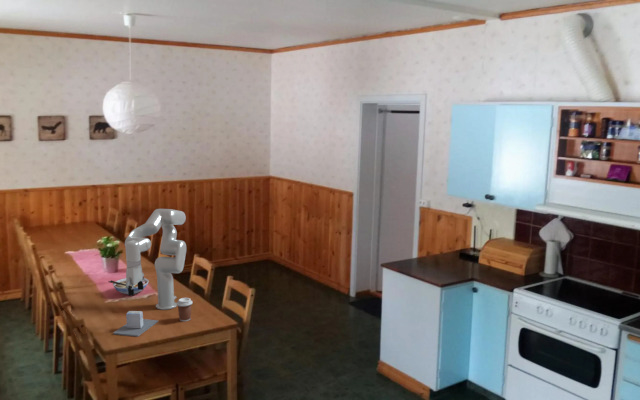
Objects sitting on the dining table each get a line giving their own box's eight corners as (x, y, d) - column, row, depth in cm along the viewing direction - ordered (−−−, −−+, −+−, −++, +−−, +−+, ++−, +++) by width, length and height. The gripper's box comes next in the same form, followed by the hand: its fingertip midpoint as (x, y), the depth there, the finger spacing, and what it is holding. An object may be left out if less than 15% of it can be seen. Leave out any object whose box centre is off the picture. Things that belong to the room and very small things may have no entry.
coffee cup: (176, 317, 334) (175, 298, 332) (192, 315, 337) (191, 296, 335) (178, 323, 325) (177, 303, 323) (194, 321, 329) (193, 301, 327)
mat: (134, 319, 331) (134, 318, 331) (158, 321, 327) (158, 320, 327) (113, 334, 310) (113, 332, 310) (137, 336, 306) (137, 335, 306)
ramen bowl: (157, 291, 380) (157, 279, 379) (130, 301, 361) (129, 289, 360) (132, 285, 393) (132, 273, 392) (104, 294, 374) (103, 282, 373)
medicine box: (143, 325, 319) (142, 311, 318) (140, 328, 315) (139, 313, 314) (129, 325, 320) (129, 310, 318) (126, 328, 316) (125, 313, 314)
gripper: (136, 258, 323) (138, 286, 326) (119, 267, 306) (121, 297, 310) (148, 259, 321) (150, 287, 324) (131, 268, 304) (133, 298, 308)
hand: (136, 292), depth 317 cm, fingers open, 9 cm apart
